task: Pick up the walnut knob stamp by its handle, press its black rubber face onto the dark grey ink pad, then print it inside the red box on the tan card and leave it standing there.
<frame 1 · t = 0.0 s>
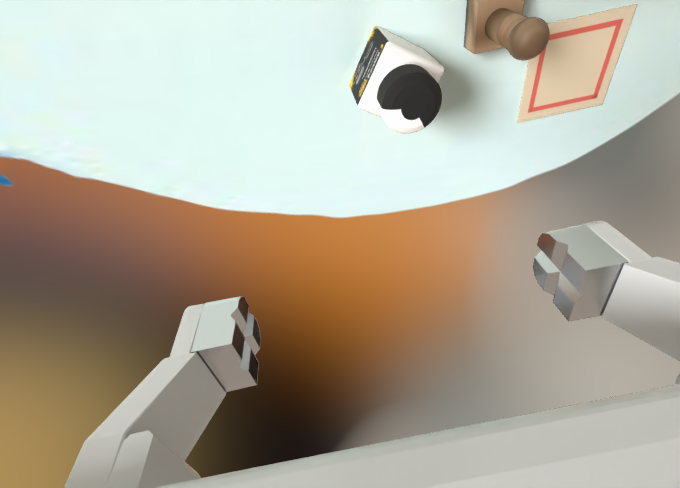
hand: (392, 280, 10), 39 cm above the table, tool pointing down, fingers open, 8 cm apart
medicine bottle: (386, 67, 43), on the table
tan card: (570, 68, 46), on the table
walnut stamp: (486, 18, 41), on the table
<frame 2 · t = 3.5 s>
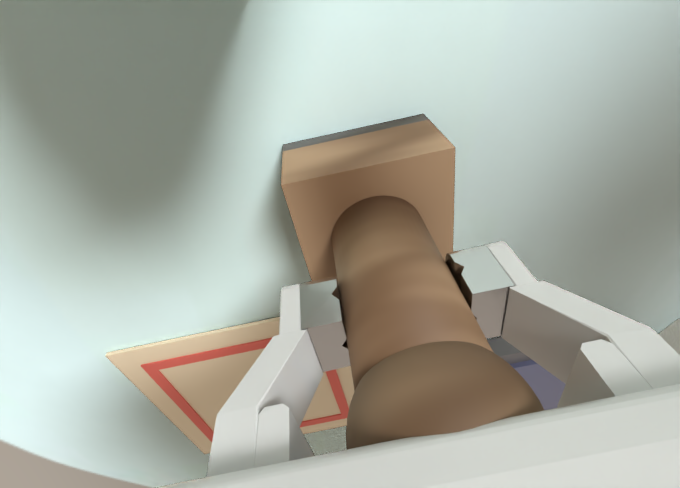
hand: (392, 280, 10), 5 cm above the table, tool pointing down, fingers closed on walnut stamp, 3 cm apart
ink pad: (499, 377, 24), on the table
tan card: (260, 390, 21), on the table
walnut stamp: (362, 191, 14), on the table, touching gripper
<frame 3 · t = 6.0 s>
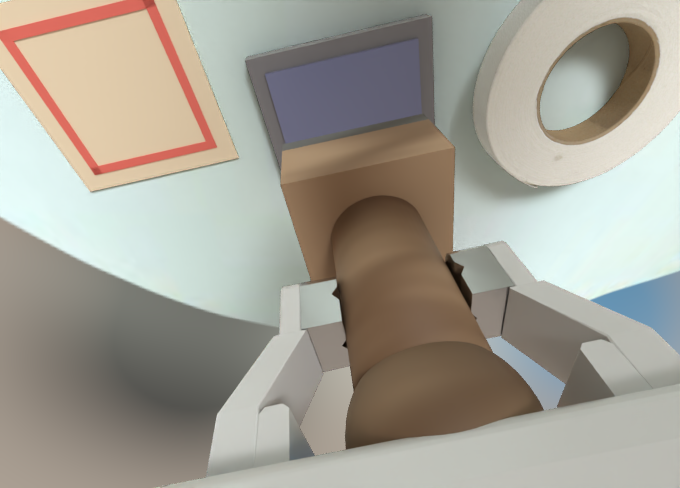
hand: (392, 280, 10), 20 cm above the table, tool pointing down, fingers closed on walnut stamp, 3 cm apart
roll of tape: (569, 78, 27), on the table
ink pad: (347, 105, 26), on the table
tan card: (120, 95, 24), on the table
walnut stamp: (362, 190, 14), point 14 cm above the table, touching gripper
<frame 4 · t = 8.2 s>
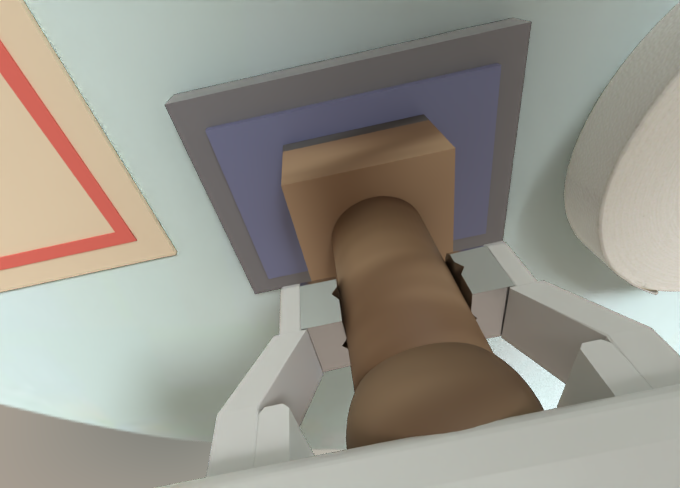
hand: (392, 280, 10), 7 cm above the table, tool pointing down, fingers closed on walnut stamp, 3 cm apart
ink pad: (360, 172, 15), on the table
walnut stamp: (362, 191, 14), point 2 cm above the table, touching gripper
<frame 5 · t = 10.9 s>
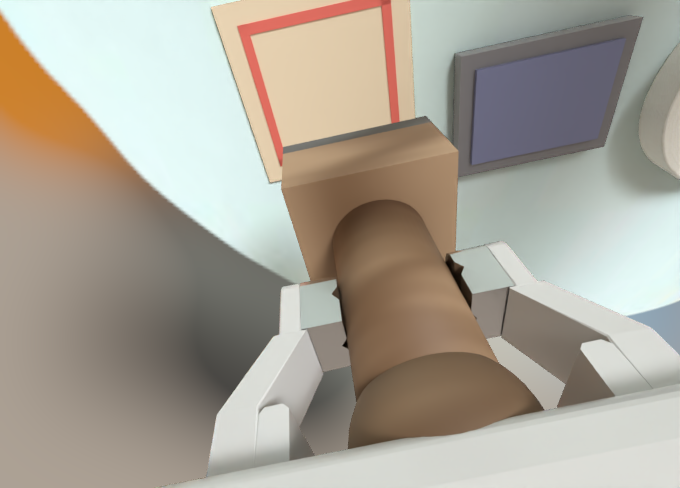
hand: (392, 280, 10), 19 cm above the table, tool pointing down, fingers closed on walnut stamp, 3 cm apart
ink pad: (531, 101, 27), on the table
tan card: (328, 88, 25), on the table
walnut stamp: (363, 193, 14), point 14 cm above the table, touching gripper
when the fingers open (5 cm above the table, at t = 13.2 s): walnut stamp stays where it is, resting on tan card.
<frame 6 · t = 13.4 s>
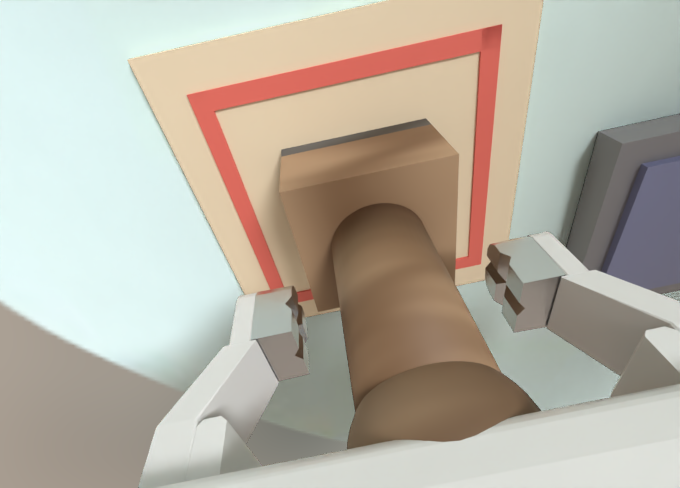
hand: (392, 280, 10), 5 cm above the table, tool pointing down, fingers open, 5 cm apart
tan card: (363, 193, 14), on the table
walnut stamp: (363, 196, 14), resting on tan card
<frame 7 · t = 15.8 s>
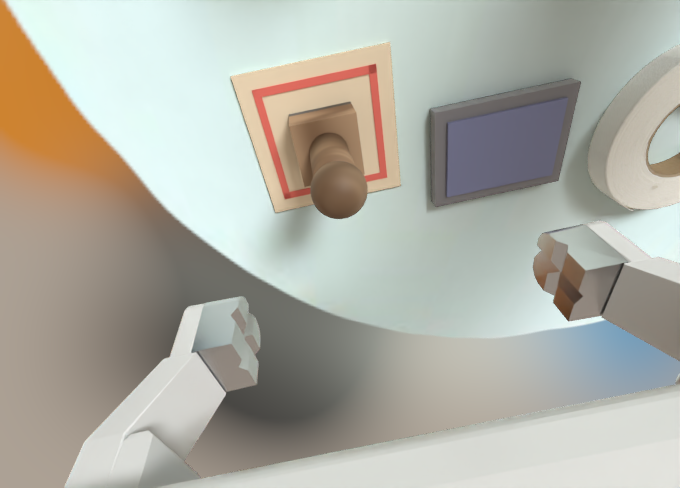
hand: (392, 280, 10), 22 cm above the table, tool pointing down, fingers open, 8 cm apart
roll of tape: (664, 125, 34), on the table
ink pad: (495, 144, 32), on the table
tan card: (325, 137, 30), on the table
walnut stamp: (325, 138, 30), resting on tan card
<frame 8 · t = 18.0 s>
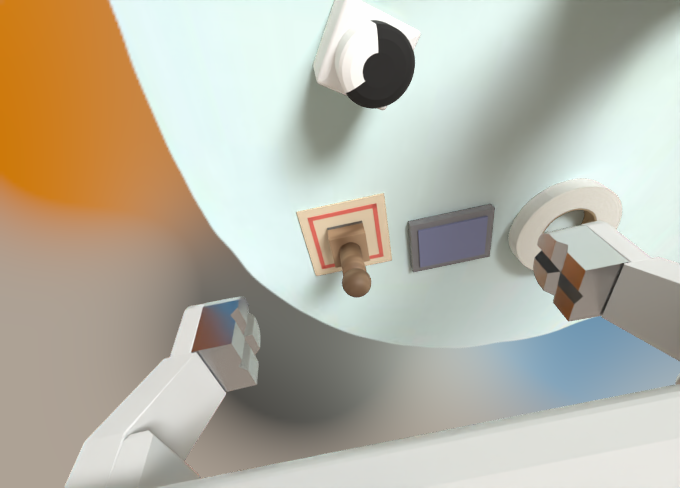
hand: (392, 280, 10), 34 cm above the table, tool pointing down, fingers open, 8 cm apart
roll of tape: (556, 222, 55), on the table
medicine bottle: (355, 45, 37), on the table
ink pad: (449, 237, 54), on the table
tan card: (347, 237, 51), on the table
walnut stamp: (347, 238, 51), resting on tan card
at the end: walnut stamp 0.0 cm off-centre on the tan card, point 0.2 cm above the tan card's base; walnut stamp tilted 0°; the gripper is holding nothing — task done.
